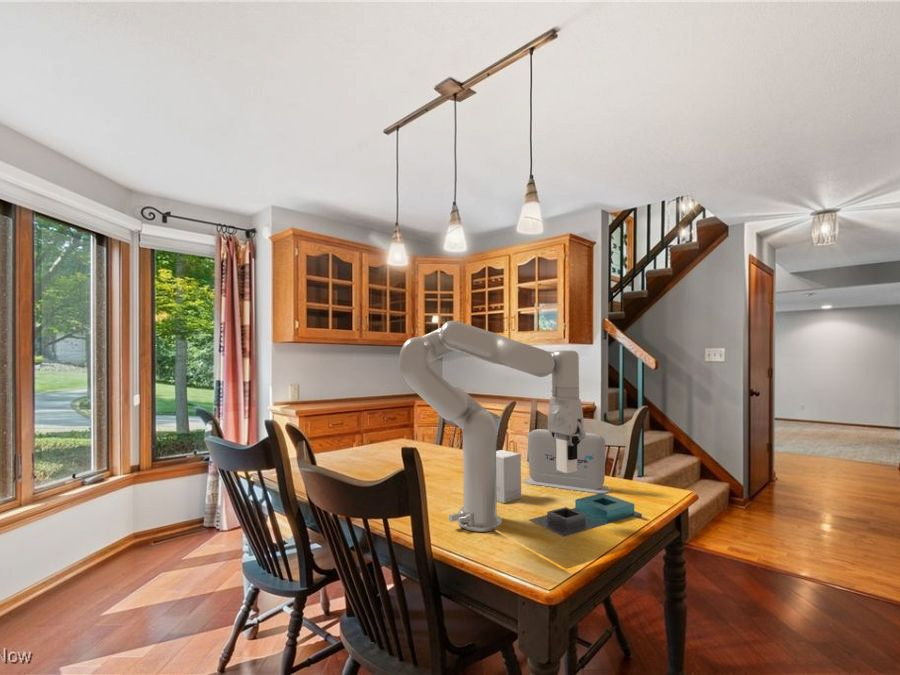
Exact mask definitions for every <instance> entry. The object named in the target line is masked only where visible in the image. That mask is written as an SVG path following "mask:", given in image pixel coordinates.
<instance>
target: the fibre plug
mask: <svg viewBox="0 0 900 675" xmlns="http://www.w3.org/2000/svg"><path fill="white" fill-rule="evenodd" d="M573 439H574V436H573ZM568 446H569V439H568V435H564V434H559V433H556V465H557V470H558V471H562V472H565V473H570V472H575V471H577V459H575V460H568Z"/></svg>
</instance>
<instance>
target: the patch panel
mask: <svg viewBox="0 0 900 675" xmlns="http://www.w3.org/2000/svg"><path fill="white" fill-rule="evenodd" d="M574 501H575V503H574V504H575V506H574V507H573V508H569V507H566V506H564V507H561V508H557V509H553V510H548V511H547V514H546V515H542V516H538V517H535V518H531V519H530V518H529V519H528V521H529V522H532V523H534V524H536V525H538V526H540V527H542V528H543V529H546V530H548V531H551V532H553V533H555V534H557V535H559V536H560V537H568V536H571V535H574V534H578V533H581V532H585V531H588V530H591V529H595V528H598V527H602V526H606V525H609V524H612V523H616V522H619V521H622V520H626V519H629V518H633V517H634V518H635V519H640V518H643V516H642V513H641V512H638V511H635V503H633V502H630V501H627V500H624V499H620V498H618V497H616V496H612V495H610V494H607V493H606V494H603V493H600V494H592V495H588V496H585V497H580V498H576V499H574Z"/></svg>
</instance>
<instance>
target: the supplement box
mask: <svg viewBox="0 0 900 675" xmlns="http://www.w3.org/2000/svg"><path fill="white" fill-rule="evenodd" d="M521 455H522V454H521V453H518V452H513V451H507V450H504V449H503V450H502V449H499V450H496V489H497V502H499V503H501V504H507V503H509V502H513V501H516V500H519V499H521V498H522V464H521V463H522V462H521V461H522V456H521Z"/></svg>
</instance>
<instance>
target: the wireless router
mask: <svg viewBox="0 0 900 675" xmlns="http://www.w3.org/2000/svg"><path fill="white" fill-rule="evenodd" d="M585 434H586V438H584V439H582V440H581V441H580V443H579V445H577V471H575V472H570V473H565V472H562V471H558V470H557V465H556V442H554V438H553V436H552V434H551V433H550V432H549V431H548V429H543V428H542V429H541V428H537V429H534V430H531V431H530V432H529V433H527V452H528V457H527V458H528V473H529V476H528V477H526V478H524V480H523V482H524V483H525V484H526V483H527V484H526V485H529V484H530V486H535V485H536V486H537V487H542V486H545V487H544V488H549V487H551V489H556V488H558V489H557V490H564V489H565V490H566V491H571V490H573V491H572V492H578V491H580V493H585V492H587V494H593V493H594V494H593V495H596V494H600V493H603V494H606V495H607V494H609V493H610V492H611V489H610V487H608V486H605V485H604V484H605V477H606V476H605V475H606V474H605V473H606V472H605V471H606V440H605V438H604V437H603V436H602V435H600V434H597V433H594V432H585ZM578 435H579V434H578ZM536 486H535V487H536Z"/></svg>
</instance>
